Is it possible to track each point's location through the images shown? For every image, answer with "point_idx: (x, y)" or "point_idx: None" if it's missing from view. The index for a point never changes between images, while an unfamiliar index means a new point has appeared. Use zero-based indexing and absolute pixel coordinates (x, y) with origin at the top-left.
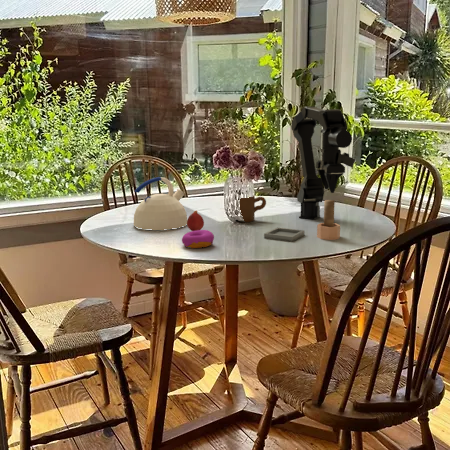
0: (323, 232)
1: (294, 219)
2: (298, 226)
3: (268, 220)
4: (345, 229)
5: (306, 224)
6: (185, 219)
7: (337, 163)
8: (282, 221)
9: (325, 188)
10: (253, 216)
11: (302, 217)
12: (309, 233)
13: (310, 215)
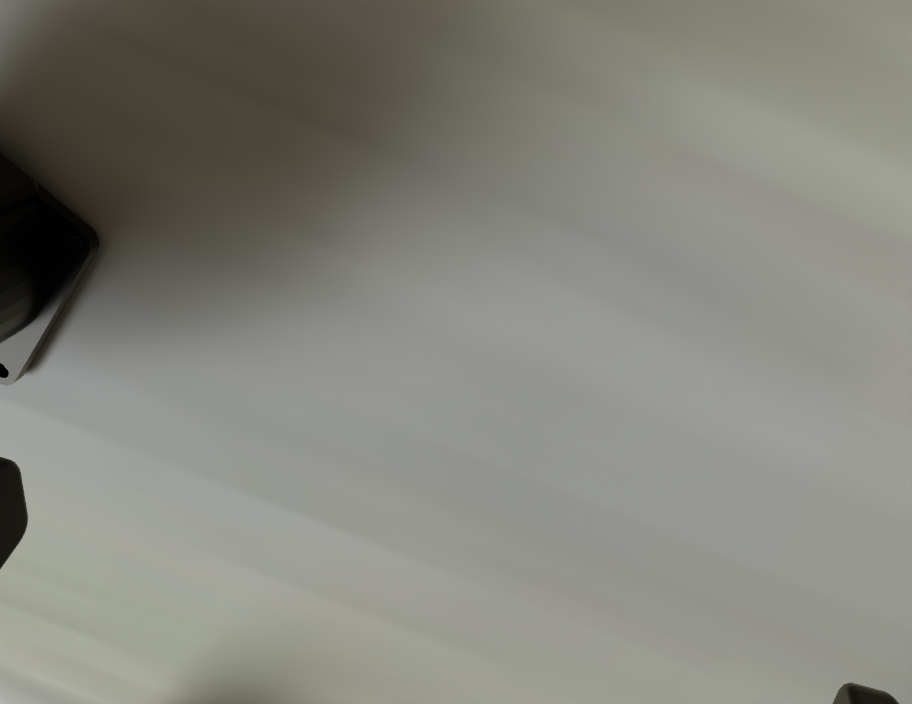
0: None
1: (80, 442)
2: (446, 545)
3: (128, 675)
4: (820, 15)
5: (356, 425)
6: None
7: None
8: (178, 587)
9: (17, 538)
10: None
11: (32, 355)
12: (854, 587)
13: (26, 281)
